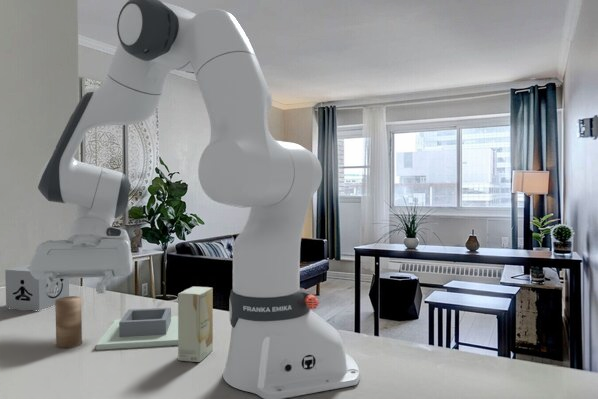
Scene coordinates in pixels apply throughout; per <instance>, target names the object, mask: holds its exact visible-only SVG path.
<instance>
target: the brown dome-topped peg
mask: <svg viewBox="0 0 598 399" xmlns="http://www.w3.org/2000/svg"><path fill="white" fill-rule="evenodd" d="M54 307H55V308H54V309H55V345H56V346H55V347H56V348H57V349H61V350H62V349H63V350H64V349H72V348H76V347H79V346H80V345H82V343H83V330H82V329H83V328H82V326H83V325H82V322H83V320H82V317H83V316H82V297H81V296H78V295H74V296H73V295H72V296H70V295H69V297H63V298H59V299H56V300H55V306H54Z"/></svg>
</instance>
